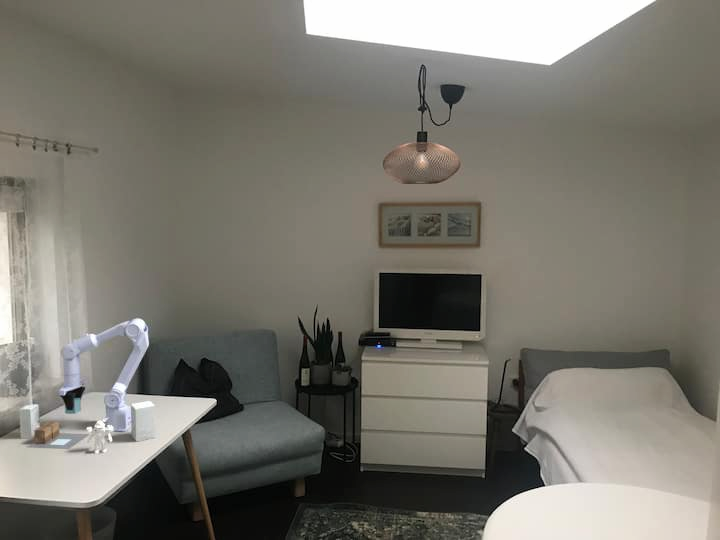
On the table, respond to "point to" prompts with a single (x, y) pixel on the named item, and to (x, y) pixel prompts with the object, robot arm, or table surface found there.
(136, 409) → the supplement box
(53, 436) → the walnut blocks
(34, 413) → the skincare box
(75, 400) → the teal block
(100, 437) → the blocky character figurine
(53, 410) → the table surface
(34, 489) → the table surface
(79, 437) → the baseplate
